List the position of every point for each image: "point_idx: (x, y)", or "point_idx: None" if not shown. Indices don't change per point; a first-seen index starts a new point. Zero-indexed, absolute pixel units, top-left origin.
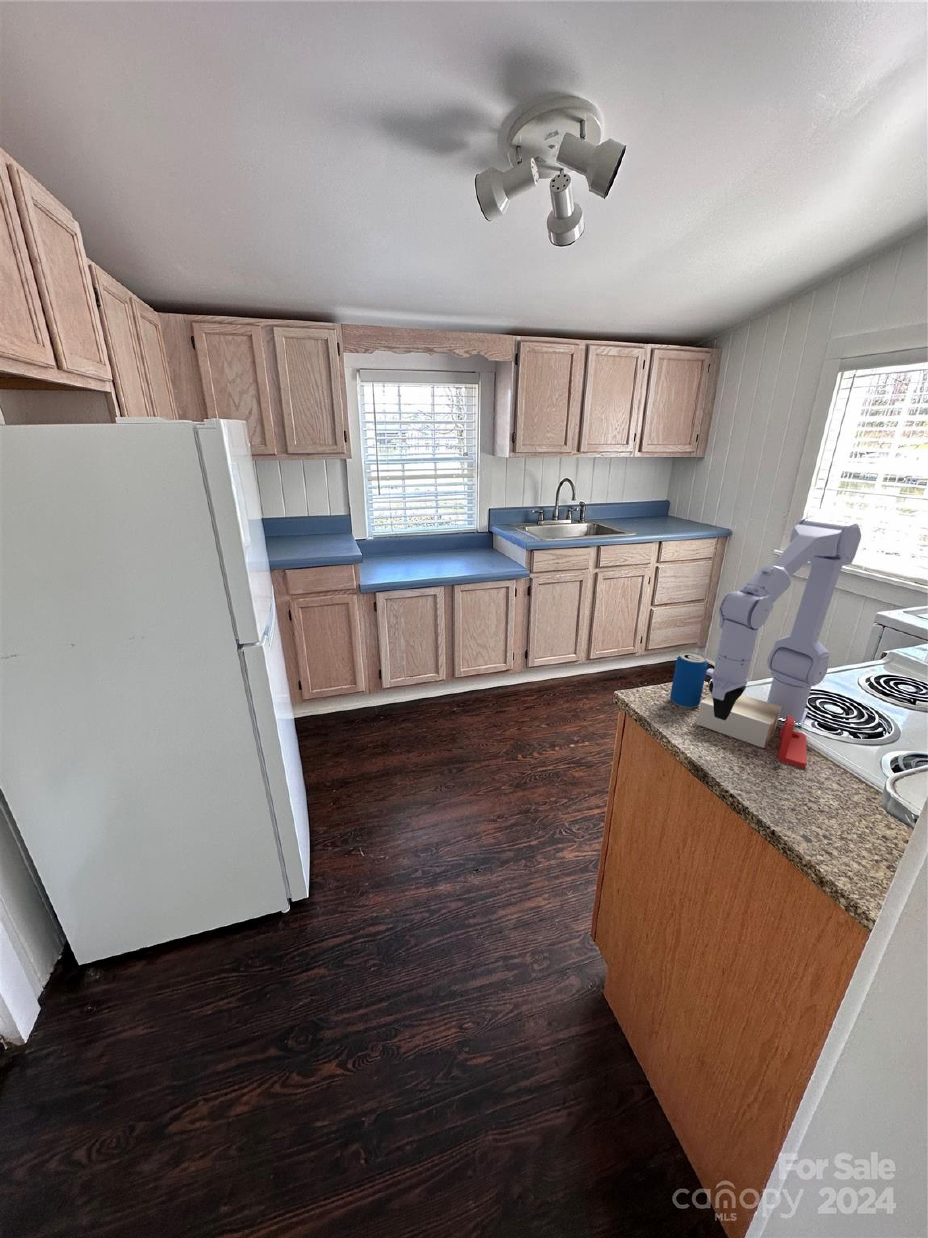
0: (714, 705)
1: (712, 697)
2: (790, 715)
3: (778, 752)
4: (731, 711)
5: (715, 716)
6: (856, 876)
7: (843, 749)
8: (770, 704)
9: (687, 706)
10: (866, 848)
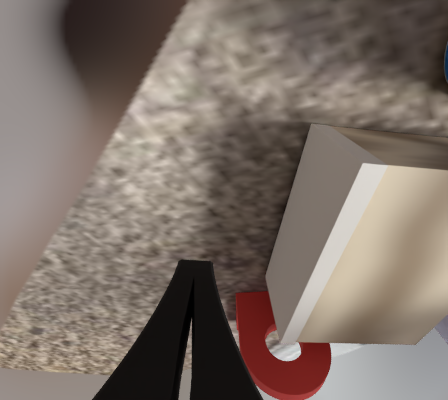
0: (150, 319)
1: (109, 381)
2: None
3: (262, 295)
4: (316, 272)
5: (177, 266)
6: (22, 360)
7: (335, 346)
8: (424, 329)
9: (446, 58)
10: (89, 364)
